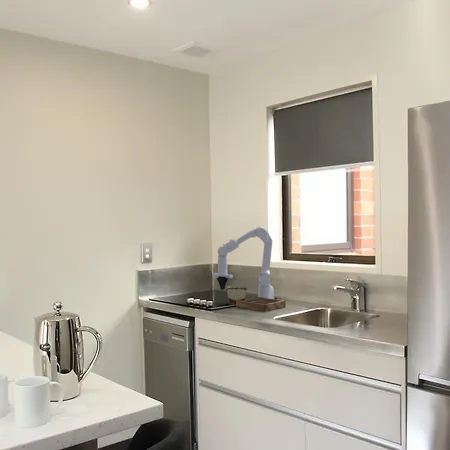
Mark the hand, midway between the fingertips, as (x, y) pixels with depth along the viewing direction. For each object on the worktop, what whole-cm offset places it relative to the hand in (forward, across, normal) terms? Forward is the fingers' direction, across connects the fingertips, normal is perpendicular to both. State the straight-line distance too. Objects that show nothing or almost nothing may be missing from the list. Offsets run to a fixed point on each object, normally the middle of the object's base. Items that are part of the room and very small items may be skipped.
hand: (222, 289), depth 310 cm
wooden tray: (+7, +28, 0) cm, 29 cm away
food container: (+7, +11, 0) cm, 13 cm away
